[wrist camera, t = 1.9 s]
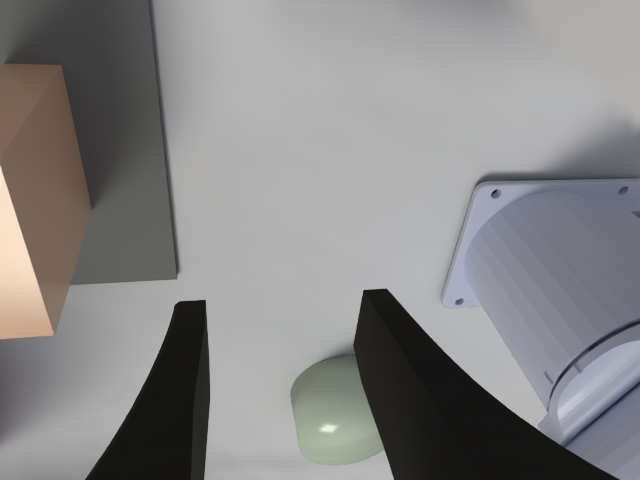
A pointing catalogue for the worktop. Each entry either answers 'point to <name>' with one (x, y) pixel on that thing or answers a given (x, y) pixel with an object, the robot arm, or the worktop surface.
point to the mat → (106, 126)
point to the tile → (38, 199)
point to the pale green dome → (334, 414)
